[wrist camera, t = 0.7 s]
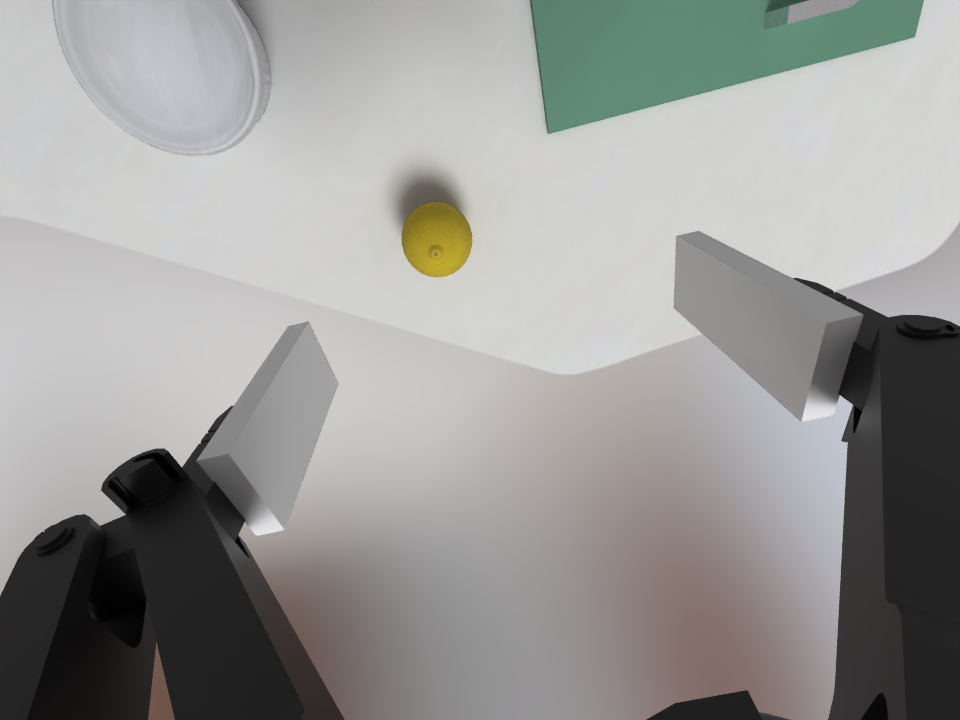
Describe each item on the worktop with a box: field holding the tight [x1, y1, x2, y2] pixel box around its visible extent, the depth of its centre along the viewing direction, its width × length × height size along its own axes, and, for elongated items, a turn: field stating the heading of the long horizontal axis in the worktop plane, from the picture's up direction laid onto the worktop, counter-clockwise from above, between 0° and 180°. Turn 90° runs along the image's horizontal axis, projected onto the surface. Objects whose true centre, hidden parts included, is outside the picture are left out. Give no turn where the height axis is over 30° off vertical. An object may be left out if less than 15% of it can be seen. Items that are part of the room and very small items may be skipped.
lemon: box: [402, 202, 472, 277], centre depth 33 cm, size 6×6×8 cm
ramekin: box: [52, 0, 271, 156], centre depth 28 cm, size 11×11×5 cm
